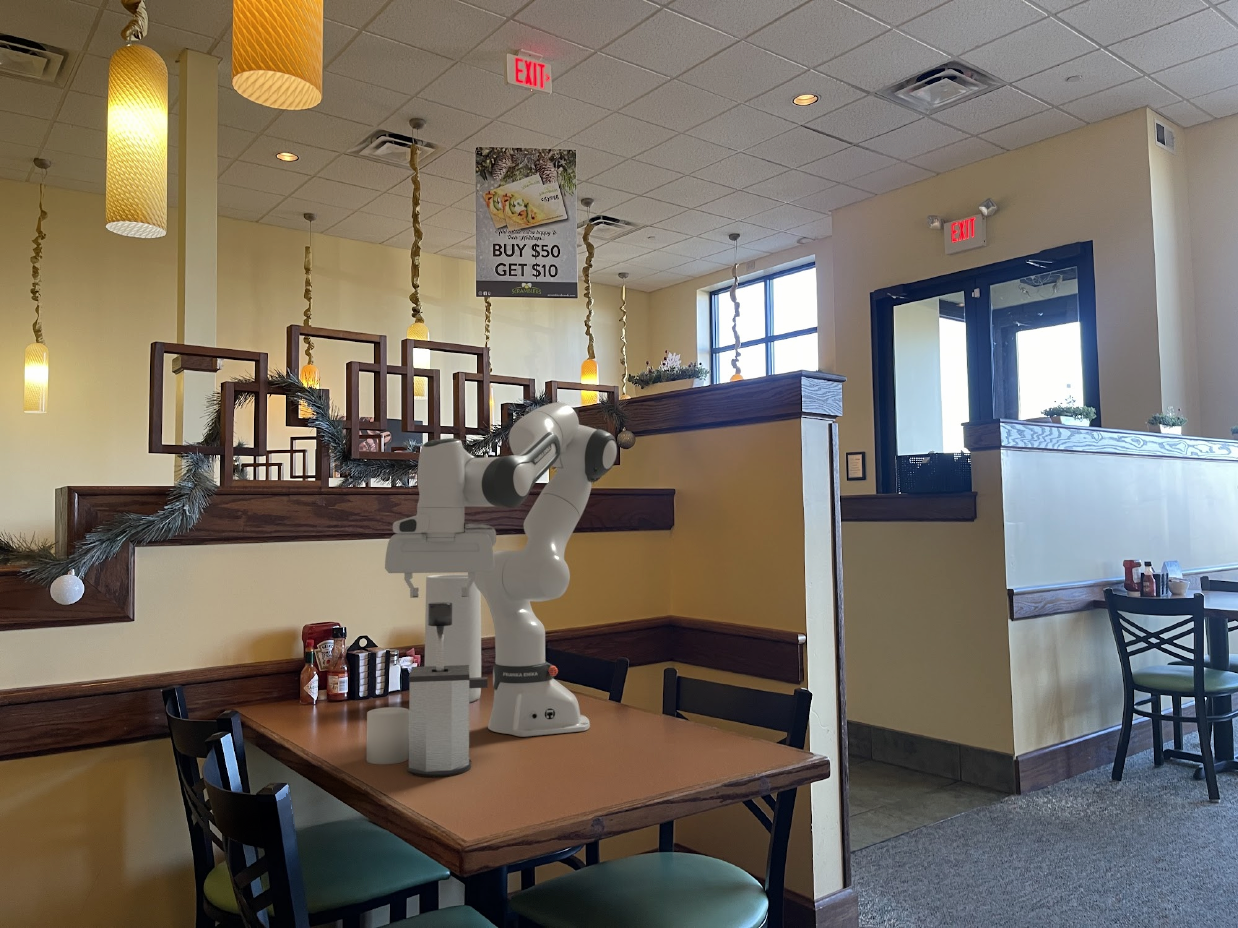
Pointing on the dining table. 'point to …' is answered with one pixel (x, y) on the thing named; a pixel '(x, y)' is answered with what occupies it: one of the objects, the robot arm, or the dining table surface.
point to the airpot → (440, 720)
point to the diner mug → (387, 735)
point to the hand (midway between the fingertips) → (440, 597)
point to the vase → (456, 625)
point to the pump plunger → (440, 627)
